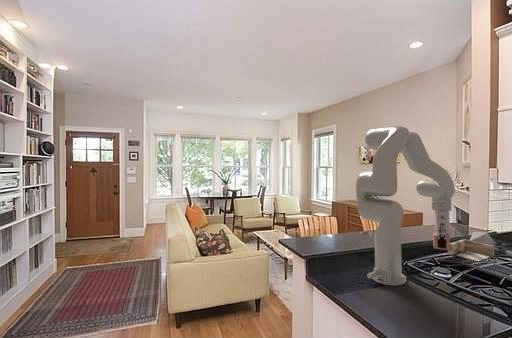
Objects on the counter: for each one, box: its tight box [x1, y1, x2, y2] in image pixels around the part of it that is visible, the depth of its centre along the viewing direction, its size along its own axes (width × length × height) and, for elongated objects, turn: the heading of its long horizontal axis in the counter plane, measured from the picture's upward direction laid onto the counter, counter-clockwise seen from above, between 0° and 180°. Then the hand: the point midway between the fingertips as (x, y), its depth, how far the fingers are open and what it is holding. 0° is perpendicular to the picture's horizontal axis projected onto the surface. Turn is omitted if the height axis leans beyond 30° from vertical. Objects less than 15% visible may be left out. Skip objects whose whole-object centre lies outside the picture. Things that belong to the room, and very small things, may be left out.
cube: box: [432, 231, 451, 251], centre depth 132 cm, size 6×6×6 cm
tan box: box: [447, 238, 495, 263], centre depth 133 cm, size 13×12×5 cm
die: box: [469, 231, 495, 246], centre depth 140 cm, size 8×9×10 cm
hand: (441, 245), depth 132 cm, fingers closed on cube, 6 cm apart
